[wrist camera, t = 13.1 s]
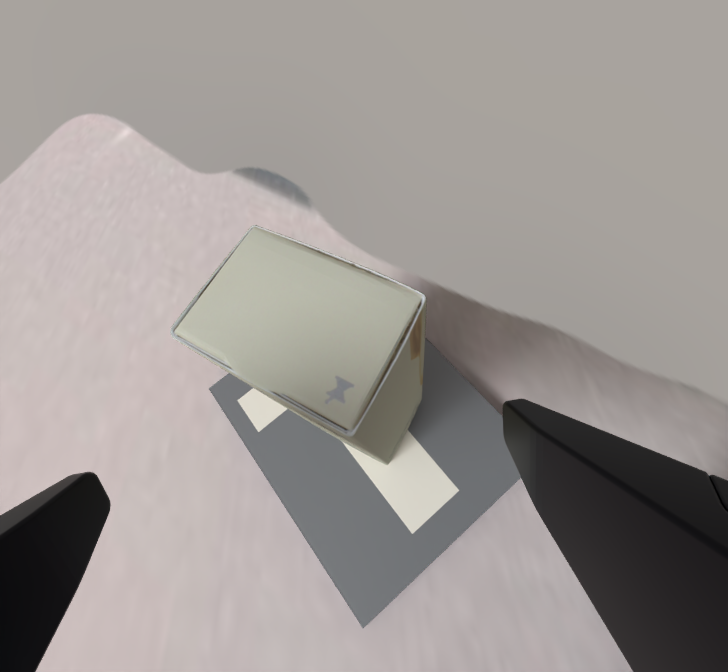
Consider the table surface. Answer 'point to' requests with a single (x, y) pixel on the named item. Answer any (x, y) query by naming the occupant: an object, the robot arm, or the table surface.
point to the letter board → (380, 481)
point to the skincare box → (314, 337)
